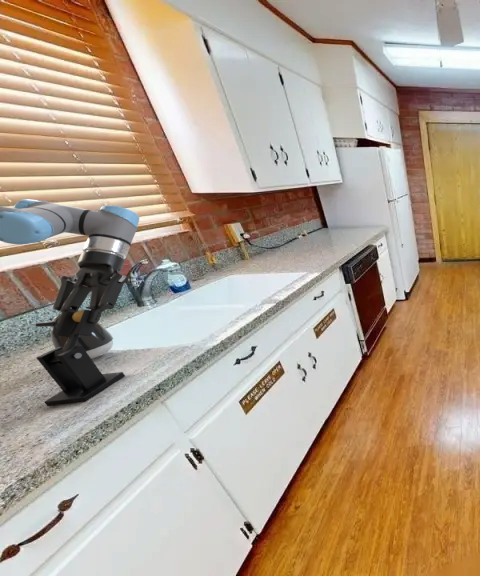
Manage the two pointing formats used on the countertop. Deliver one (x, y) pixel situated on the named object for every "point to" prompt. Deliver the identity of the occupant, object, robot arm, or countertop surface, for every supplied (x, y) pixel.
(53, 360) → the tap lever
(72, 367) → the black lever base
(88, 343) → the dark glossy oval piece
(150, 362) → the countertop surface
